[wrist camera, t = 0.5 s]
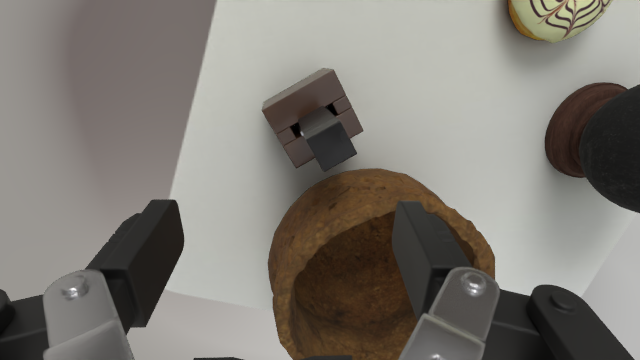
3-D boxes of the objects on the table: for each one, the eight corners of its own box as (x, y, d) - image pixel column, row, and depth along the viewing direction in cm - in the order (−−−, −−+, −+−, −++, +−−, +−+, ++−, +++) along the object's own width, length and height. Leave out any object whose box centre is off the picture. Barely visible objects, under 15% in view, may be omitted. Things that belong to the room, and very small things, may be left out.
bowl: (450, 170, 40) (545, 231, 26) (392, 301, 45) (445, 409, 31) (296, 125, 36) (311, 167, 22) (252, 274, 41) (241, 385, 27)
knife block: (263, 102, 35) (261, 110, 29) (323, 67, 34) (333, 69, 29) (292, 151, 37) (296, 168, 31) (349, 119, 36) (363, 130, 31)
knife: (289, 108, 35) (301, 142, 21) (314, 93, 35) (344, 118, 21) (300, 128, 36) (319, 174, 22) (325, 114, 36) (361, 151, 21)
